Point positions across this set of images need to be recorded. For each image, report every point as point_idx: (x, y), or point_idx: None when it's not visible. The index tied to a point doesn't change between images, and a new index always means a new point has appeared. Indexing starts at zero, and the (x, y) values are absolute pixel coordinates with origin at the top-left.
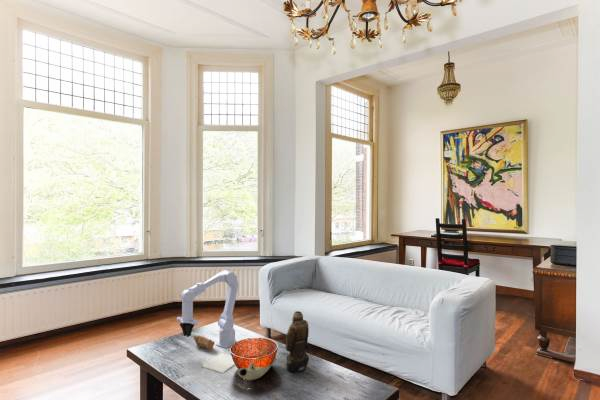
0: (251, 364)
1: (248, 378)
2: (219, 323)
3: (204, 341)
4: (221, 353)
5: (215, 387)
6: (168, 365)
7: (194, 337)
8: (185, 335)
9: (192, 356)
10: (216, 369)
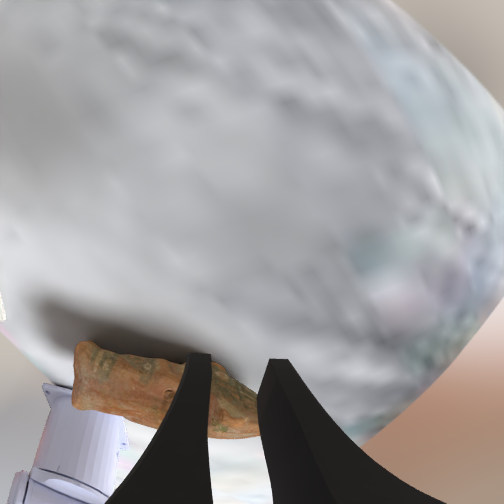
0: None
1: None
2: None
3: (119, 389)
4: (2, 319)
5: None
6: (256, 7)
7: (256, 414)
8: (266, 373)
9: (148, 224)
10: None
